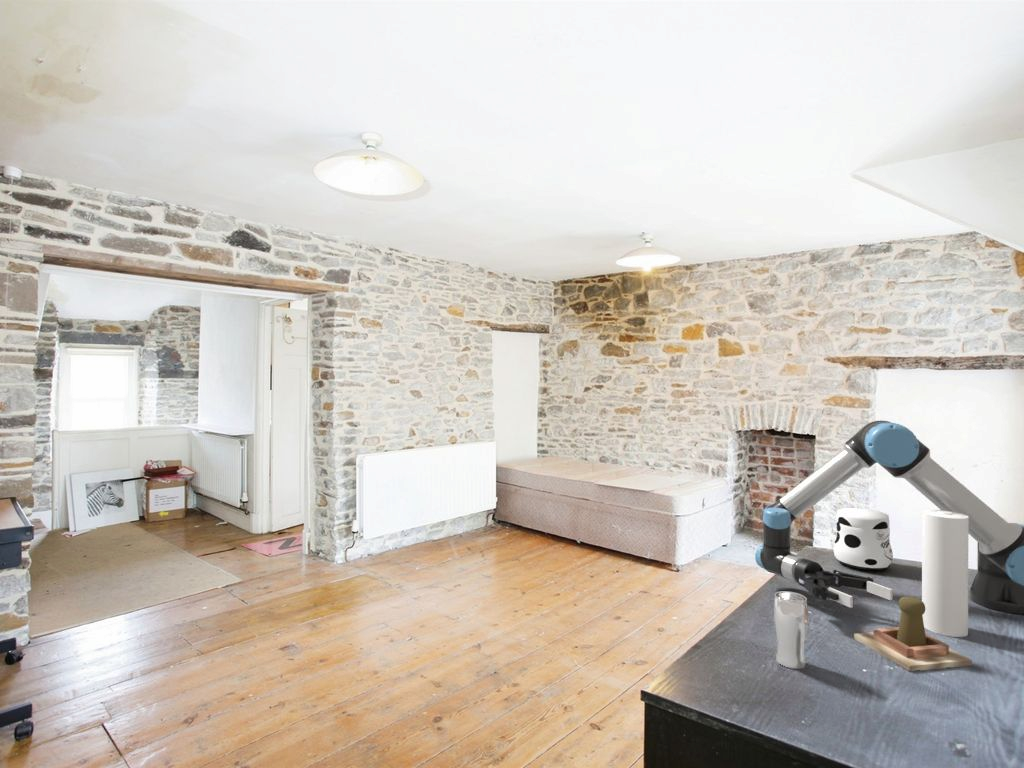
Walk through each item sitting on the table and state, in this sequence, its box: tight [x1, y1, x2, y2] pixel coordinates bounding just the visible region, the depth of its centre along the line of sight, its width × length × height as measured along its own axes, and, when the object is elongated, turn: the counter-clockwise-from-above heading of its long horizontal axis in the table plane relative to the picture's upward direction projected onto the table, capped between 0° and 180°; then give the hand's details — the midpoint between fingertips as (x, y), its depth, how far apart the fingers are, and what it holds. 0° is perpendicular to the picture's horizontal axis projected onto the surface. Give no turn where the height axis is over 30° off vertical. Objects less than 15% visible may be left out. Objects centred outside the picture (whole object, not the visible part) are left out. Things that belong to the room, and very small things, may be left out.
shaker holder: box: [853, 626, 973, 672], centre depth 133 cm, size 16×16×3 cm
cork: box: [897, 596, 927, 647], centre depth 134 cm, size 6×6×11 cm
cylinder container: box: [921, 509, 969, 638], centre depth 145 cm, size 9×9×30 cm
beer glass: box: [773, 590, 809, 670], centre depth 128 cm, size 7×7×15 cm
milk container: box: [833, 507, 894, 571], centre depth 194 cm, size 17×17×18 cm
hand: (871, 598), depth 142 cm, fingers open, 13 cm apart
